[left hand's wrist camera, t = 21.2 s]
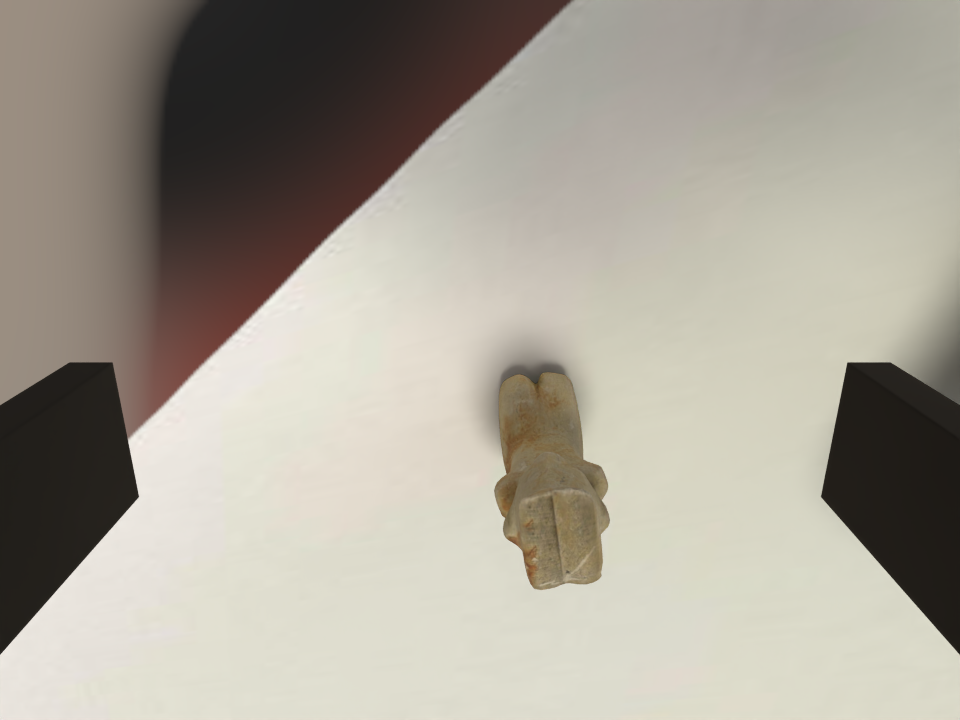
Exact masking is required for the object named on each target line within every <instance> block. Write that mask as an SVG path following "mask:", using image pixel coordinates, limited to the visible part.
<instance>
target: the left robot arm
mask: <svg viewBox="0 0 960 720" xmlns="http://www.w3.org/2000/svg"><path fill="white" fill-rule="evenodd" d="M138 497H139V495H138V490H137V484H136V479H135V474H134V469H133V464H132V459H131V454H130V449H129V444H128V439H127V434H126V429H125V424H124V418H123V413H122V408H121V403H120V398H119V393H118V388H117V383H116V378H115V373H114V368H113V363H68V364H67V365H65V366H63V367H62V368H60V369H58V370H57V371H55V372H53V373H52V374H50V375H49V376H47V377H45V378H44V379H42V380H41V381H39V382H37V383H36V384H34V385H33V386H31V387H29V388H28V389H26V390H24V391H23V392H21V393H19V394H18V395H16V396H15V397H13V398H11V399H10V400H8V401H7V402H5V403H3V404H2V405H0V654H1V653H2V652H3V651H4V650H5V649H6V647H7V646H8V645H9V644H10V643H11V642H12V641H13V639H14V638H15V637H16V636H17V635H18V634H19V633H20V632H21V630H22V629H23V628H24V627H25V626H26V625H27V624H28V622H29V621H30V620H31V619H32V618H33V617H34V616H35V614H36V613H37V612H38V611H39V610H40V609H41V608H42V607H43V605H44V604H45V603H46V602H47V601H48V600H49V599H50V597H51V596H52V595H53V594H54V593H55V592H56V591H57V589H58V588H59V587H60V586H61V585H62V584H63V583H64V582H65V580H66V579H67V578H68V577H69V576H70V575H71V574H72V572H73V571H74V570H75V569H76V568H77V567H78V566H79V564H80V563H81V562H82V561H83V560H84V559H85V558H86V557H87V555H88V554H89V553H90V552H91V551H92V550H93V549H94V547H95V546H96V545H97V544H98V543H99V542H100V541H101V539H102V538H103V537H104V536H105V535H106V534H107V533H108V532H109V530H110V529H111V528H112V527H113V526H114V525H115V524H116V522H117V521H118V520H119V519H120V518H121V517H122V516H123V514H124V513H125V512H126V511H127V510H128V509H129V508H130V506H131V505H132V504H133V503H134V502H135V501H136V500H137V499H138ZM821 497H822V499H823V500H824V501H825V502H826V503H827V504H828V505H829V506H830V508H831V509H832V510H833V511H834V512H835V513H836V514H837V516H838V517H839V518H840V519H841V520H842V521H843V522H844V524H845V525H846V526H847V527H848V528H849V529H850V530H851V532H852V533H853V534H854V535H855V536H856V537H857V538H858V539H859V541H860V542H861V543H862V544H863V545H864V546H865V547H866V549H867V550H868V551H869V552H870V553H871V554H872V555H873V557H874V558H875V559H876V560H877V561H878V562H879V563H880V564H881V566H882V567H883V568H884V569H885V570H886V571H887V572H888V574H889V575H890V576H891V577H892V578H893V579H894V580H895V582H896V583H897V584H898V585H899V586H900V587H901V588H902V589H903V591H904V592H905V593H906V594H907V595H908V596H909V597H910V599H911V600H912V601H913V602H914V603H915V604H916V605H917V607H918V608H919V609H920V610H921V611H922V612H923V613H924V614H925V616H926V617H927V618H928V619H929V620H930V621H931V622H932V624H933V625H934V626H935V627H936V628H937V629H938V630H939V632H940V633H941V634H942V635H943V636H944V637H945V638H946V640H947V641H948V642H949V643H950V644H951V645H952V646H953V647H954V649H955V650H956V651H957V652H958V653H959V654H960V405H958V404H957V403H955V402H954V401H952V400H950V399H949V398H947V397H945V396H944V395H942V394H941V393H939V392H937V391H936V390H934V389H932V388H931V387H929V386H928V385H926V384H924V383H923V382H921V381H919V380H918V379H916V378H915V377H913V376H911V375H910V374H908V373H907V372H905V371H903V370H902V369H900V368H898V367H897V366H895V365H894V364H892V363H847V368H846V373H845V378H844V383H843V388H842V393H841V398H840V403H839V408H838V413H837V418H836V424H835V429H834V434H833V439H832V444H831V449H830V454H829V459H828V464H827V469H826V474H825V479H824V484H823V490H822V495H821Z"/></svg>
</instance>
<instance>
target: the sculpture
mask: <svg viewBox="0 0 960 720" xmlns="http://www.w3.org/2000/svg"><path fill="white" fill-rule="evenodd" d="M499 424H500V437H501V446H502V453H503V460H504V465H505V469H506V473H507V475H505V476H504V477H502V478H501V479H500V480H499V481H498V482H497V484H496V486H495V490H494V492H495V498H496V501H497V504H498V507H499V509H500V511H501V514H502V516H503V517H505V521H504V526H503V532H504V535H505V537H506V538H507V539H508V540H509V541H511V542H513V543H514V544H516V545H517V546H518V547H519V548H520V549H521V550H522V551H523V556H524V563H525V568H526V572H527V576H528V578H529V581H530V584H531V585H532V586H533V588H534V589H539V590H544V589H550V588H554V587H557V586H559V585H561V584H565V583H574V584H589V583H593V582H595V581H597V580H598V579H599V578H600V577H601V570H602V563H603V558H602V544H601V533H602V532H603V531H604V530H605V529H606V528H607V527H608V525H609V522H610V519H609V514H608V511H607V509H606V506H605V505H604V503H603V502H602V499H603V497H604V496H605V494H606V492H607V490H608V483H607V479H606V477H605V474H604V472H603V470H602V468H601V467H600V466H599V465H596V464H593V463H590V462H587V461H585V460H583V441H582V431H581V423H580V417H579V412H578V407H577V401H576V397H575V393H574V389H573V386H572V383H571V380H570V379H569V378H568V377H567V376H565V375H563V374H557V373H550V372H546V373H542V374H541V375H540V378H539V381H538V383H536V384H535V383H533V382H532V381H531V380H530V379H529V378H527V377H526V376H524V375H519V374H518V375H514V376H512V377H510V378H508V379H506V380H505V381H504V382H503V384H502V386H501V388H500V393H499Z"/></svg>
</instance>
